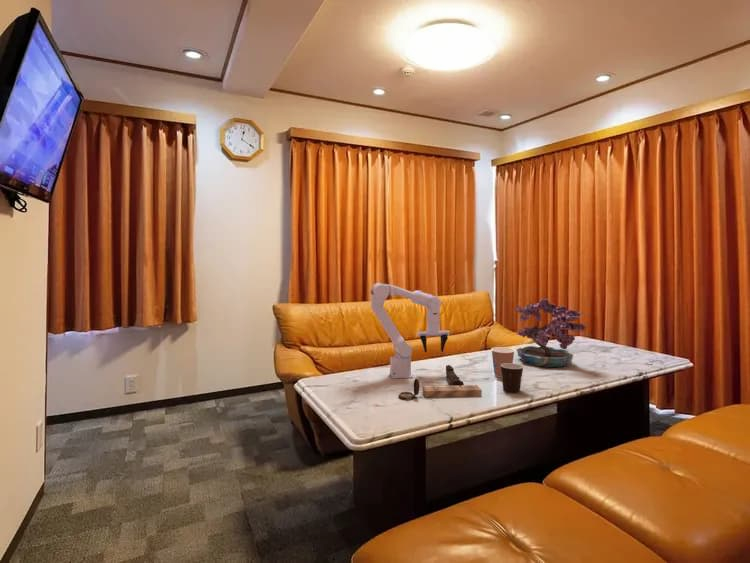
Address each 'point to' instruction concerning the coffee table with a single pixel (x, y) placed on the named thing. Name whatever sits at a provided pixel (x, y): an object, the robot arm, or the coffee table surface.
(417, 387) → the compass
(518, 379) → the coffee mug
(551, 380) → the coffee table surface
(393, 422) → the coffee table surface
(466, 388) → the light brown wooden board
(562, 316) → the bonsai tree
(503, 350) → the coffee cup
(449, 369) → the hand tool
